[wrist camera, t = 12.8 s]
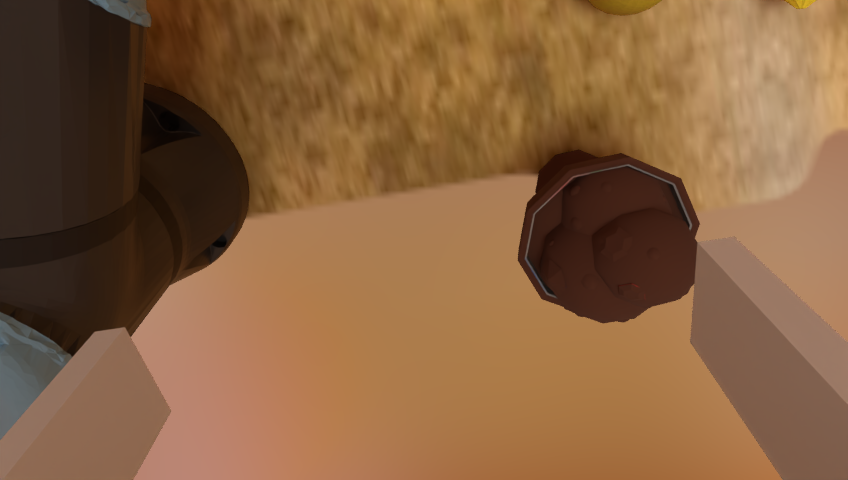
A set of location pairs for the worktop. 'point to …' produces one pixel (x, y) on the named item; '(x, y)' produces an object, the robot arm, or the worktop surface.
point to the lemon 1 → (623, 6)
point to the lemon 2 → (800, 3)
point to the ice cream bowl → (608, 236)
